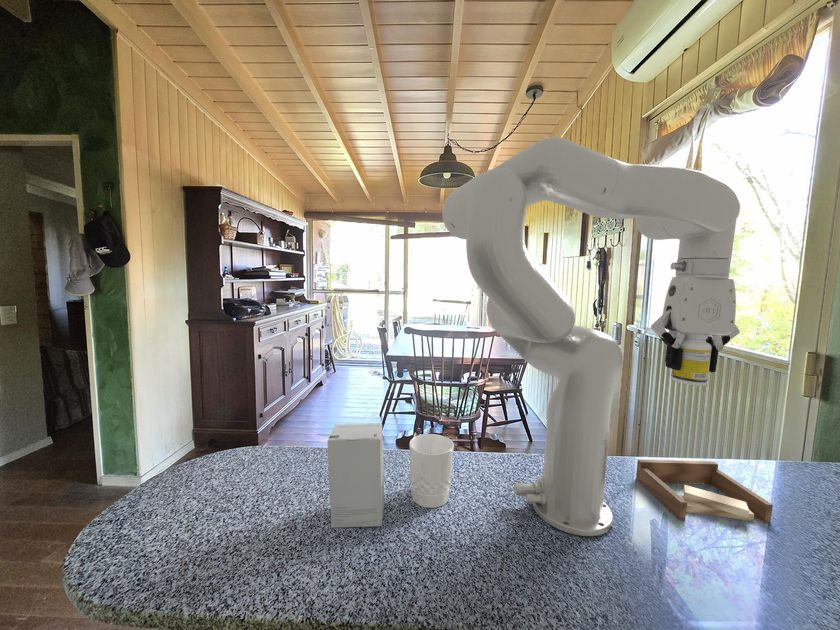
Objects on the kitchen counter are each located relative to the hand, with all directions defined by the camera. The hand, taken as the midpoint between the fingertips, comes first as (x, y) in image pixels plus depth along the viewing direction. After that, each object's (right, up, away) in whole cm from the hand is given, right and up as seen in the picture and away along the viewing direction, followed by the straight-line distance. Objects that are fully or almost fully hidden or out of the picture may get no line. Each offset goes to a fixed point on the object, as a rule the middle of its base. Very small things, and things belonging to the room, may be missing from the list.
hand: (689, 368), depth 65 cm
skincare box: (-60, -23, -7) cm, 65 cm away
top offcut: (+1, -23, -4) cm, 23 cm away
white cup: (-48, -23, -1) cm, 53 cm away
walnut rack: (+1, -24, -1) cm, 24 cm away
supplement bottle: (0, -3, 0) cm, 3 cm away
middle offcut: (+1, -24, -4) cm, 24 cm away
